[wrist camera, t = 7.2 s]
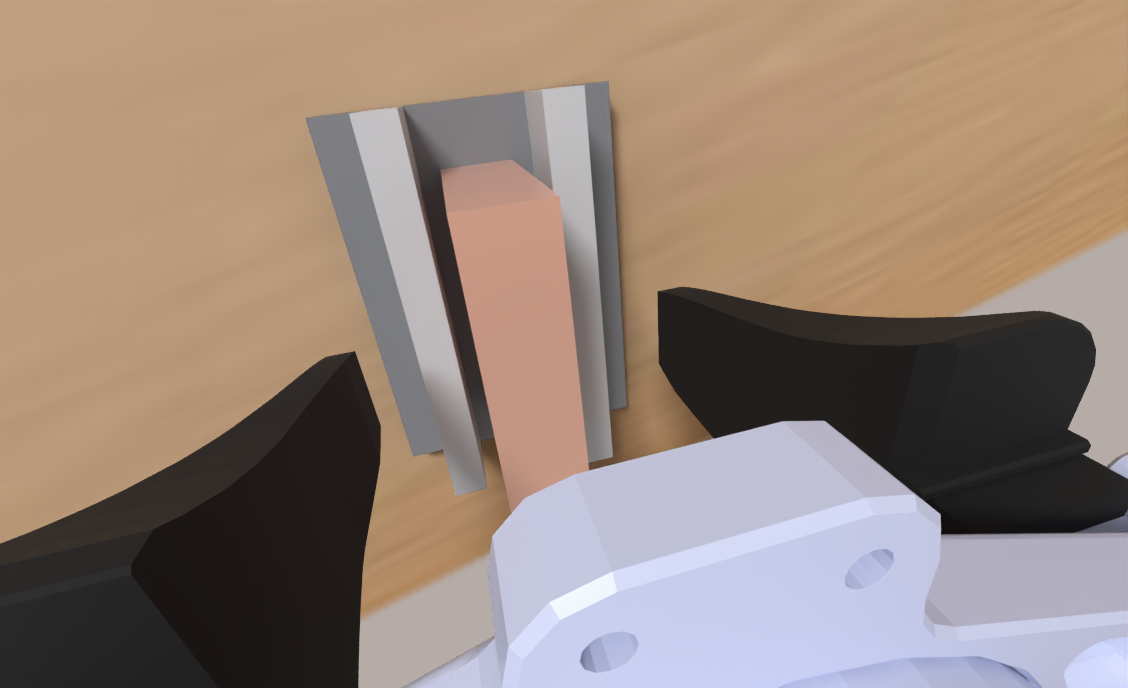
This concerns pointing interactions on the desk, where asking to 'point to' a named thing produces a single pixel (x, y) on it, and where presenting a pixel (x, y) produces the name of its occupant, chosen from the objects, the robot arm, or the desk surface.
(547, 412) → the tall salmon pink block
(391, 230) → the grey slotted holder
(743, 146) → the desk surface
